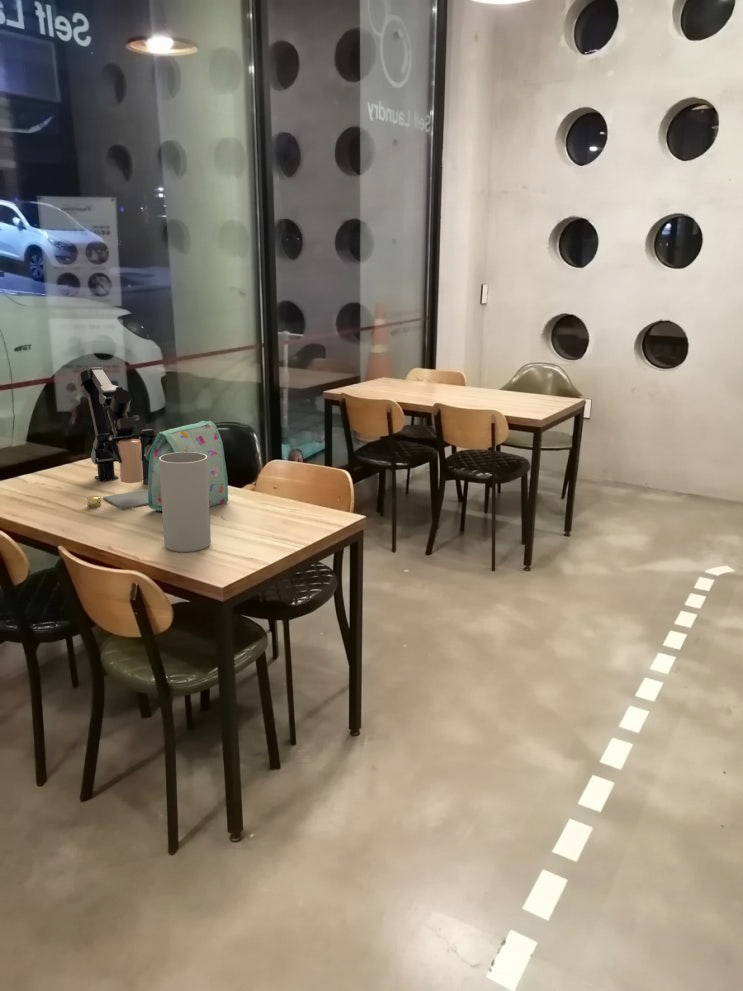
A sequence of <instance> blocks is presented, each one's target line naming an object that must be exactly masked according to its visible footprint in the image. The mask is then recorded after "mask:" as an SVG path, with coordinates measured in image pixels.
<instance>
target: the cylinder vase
mask: <svg viewBox="0 0 743 991" xmlns="http://www.w3.org/2000/svg"><path fill="white" fill-rule="evenodd" d="M159 464H160V481H161V497H162V526H163V542H164V543H163V544H164V547H165V548H166V549H167V550H168V551H171V552H172V551H173V552H178V553H190V552H191V553H192V552H198V551H201V550H204V549H206V548H208V547H209V545H210V544H211V542H212V538H211V515H210V507H209V487H208V464H207V455H205V454H202V453H196V452H176V453H169V454H165V455H162V456H161V457H159Z"/></svg>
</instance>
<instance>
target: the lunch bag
mask: <svg viewBox="0 0 743 991" xmlns="http://www.w3.org/2000/svg"><path fill="white" fill-rule="evenodd" d="M176 452H196V453H202V454H205V455H207V464H208V487H209V508H210V507H214V506H217V505H220V504H225V503H228V501H229V482H228V481H229V480H228V473H227V472H228V471H227V466H226V460H225V450H224V444H223V439H222V438H221V434H220V432H219V430H218V427H217V425H216V424H215V423H214V422H213V421H211V420H208V421H205V420H201V421H199V422H197V423H191V424H187V425H183V426H178V427H174V428H169V429H167V430H162V431H159V432H158V433H157V435H156V436H155V439H154V442H153V444H151V445H150V447H149V449H148V451H147V452H146V453H147V455H146V460H148V461H149V472H148V484H147V490H148V504H149V505H148V507H149V509H151V510H153V511H162V497H161V481H160V464H159V457H161V456H162V455H165V454H169V453H176Z"/></svg>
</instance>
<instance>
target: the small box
mask: <svg viewBox="0 0 743 991" xmlns="http://www.w3.org/2000/svg"><path fill="white" fill-rule="evenodd" d="M147 453H148V452H146V453H144V460H143V461H142V467H143V480H142V484H143V485H148V472H149V461H148V460H146V455H147Z"/></svg>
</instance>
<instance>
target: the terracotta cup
mask: <svg viewBox="0 0 743 991" xmlns="http://www.w3.org/2000/svg"><path fill="white" fill-rule="evenodd" d="M117 445H118V449H119V455H120V458H121V463H119V462H118V463H119V476H120V478H119V479H120V482H122V483H125V484H136V483H140V482H143V467H142V450H141V441H140V440H139V439H123V440H119V441H118V443H117Z"/></svg>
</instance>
